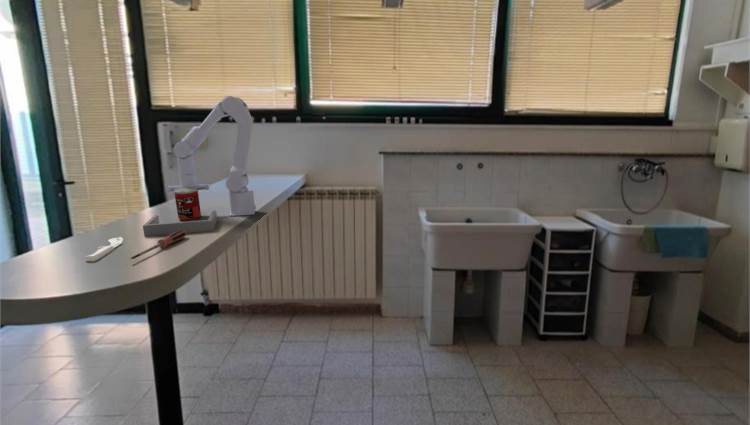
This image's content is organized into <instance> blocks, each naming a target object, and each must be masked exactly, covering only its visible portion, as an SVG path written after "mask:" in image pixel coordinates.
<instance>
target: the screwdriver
mask: <svg viewBox="0 0 750 425" xmlns="http://www.w3.org/2000/svg"><path fill="white" fill-rule="evenodd" d="M186 235H187V233H186V232H185V231H184V230H181V231H177V232H174V233H172V234H168V235H166V237H165V238H162V239H161V238H160V239H159V240H158V241H157V244H155V245H153V246H151V247H149V248H148V249H145V250H143V251H141V252H138V253H137V254H136V255H134V256H132V257H130V258H129V260H134V259H137V258H138V257H141V256H143V255H145V254H147V253H149V252H151V251H153V250H155V249H157V248H158V249H159V248H161V249H165V248H166V247H167V246H168V245H172V244H174V243H177V242H179V241H181V240H182V239H184V238H185V237H186Z"/></svg>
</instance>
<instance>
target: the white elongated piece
mask: <svg viewBox="0 0 750 425" xmlns="http://www.w3.org/2000/svg"><path fill="white" fill-rule="evenodd" d="M107 241H108V242H109V243H110V244H109V245H105V246H104V245H103V246H98V247H97V250H96V251H95V252H94V253H92V254H89V255H85V257H84V260H85V261H86V262H97V261H98V260H100V259H101V258H103V257H104V256H106V255H108V254H109V253H111V252H112V251H114V249H116V247H118V246H120V245H121V246H122V245H123V243H124V242H123V241H124V238H123V237H122V236H120V237H119V236H118V237H113V238H110V239H108V240H107Z"/></svg>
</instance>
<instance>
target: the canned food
mask: <svg viewBox="0 0 750 425" xmlns="http://www.w3.org/2000/svg"><path fill="white" fill-rule="evenodd" d="M198 191H199V190H198V189H197V188H196V187H182V188H178V189H176V190H174V191H173V192H174V199H175V206H176V211H177V217H178V220H180V221H181V222H188V221H196V220H198V219H200V218H201V217H202V216H201V215H202V211H201V206H200V205H201V204H200V197H199V192H198Z"/></svg>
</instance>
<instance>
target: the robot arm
mask: <svg viewBox="0 0 750 425" xmlns="http://www.w3.org/2000/svg"><path fill="white" fill-rule="evenodd" d="M229 116H231V118H233V119H234V121H235V122H236V124H237V126H238V127H237V133H236V139H235V146H234V154H233V159H232V161H233V162H232V165H231V166H232V167H231V168H230V171H229V176H228V177H227V178H226V180H225V187H226V188H227V191H228V199H229V210H230V211H229V215H228V217H234V216H249V215H255V214H256V210H257V209H256V207H257V206H256V204H255V194H254V193H255V192H254V190H249V188H248V187H247V186H248V185H249V178H248V169H247V165H248V160H249V152H250V151H249V150H250V147H251V146H250V145H251V138H252V132H253V124H254V121H253V118H252V116H251V113H250V110H249V107H248V104H247V103H246V102H245V101H244V100H243V99H242V98H240V97H236V96H233V95H232V96H231V95H227V96H224V97H223V98H222V100H221V101H219V102H218V103H217V104H216V106H215V107H214V108H213V109H212V110H211V112H210V113H209V114H208V115H207V117H205V119H204V120H203V122H202V123H200V125H199V126H197V125H196V126H193V127H190V128H189V129H188V131H189V132H187V134H186V135H185V136H184V137H181V139H180V141H178V142H176V143H175V144H174V146H173V154H174V155H175V157H176V161H177V169H178V176H179V185H168V186H167V192H168V193H171V192H174V190H176V189H178V188H182V187H196V188H197V189H198V191H204V190H205V191H206V190H207V191H208V190H209V191H210V190H211V188H210V184H209V183H207V184H206V183H201V184H200V183H199V184H197V177H196V176H197V175H196V168H195V167H196V165H195V161H194V155H195V153H196V150H197V149H198V148H199V147H200V145H202V143H204V141H206V139H207V138H208V132H209V131H210V130H211V129H212V128H213V127H214V126H215V125H216V124H217V123H218V122H219V121H220V120H221V119H222V118H225V117H229Z"/></svg>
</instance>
